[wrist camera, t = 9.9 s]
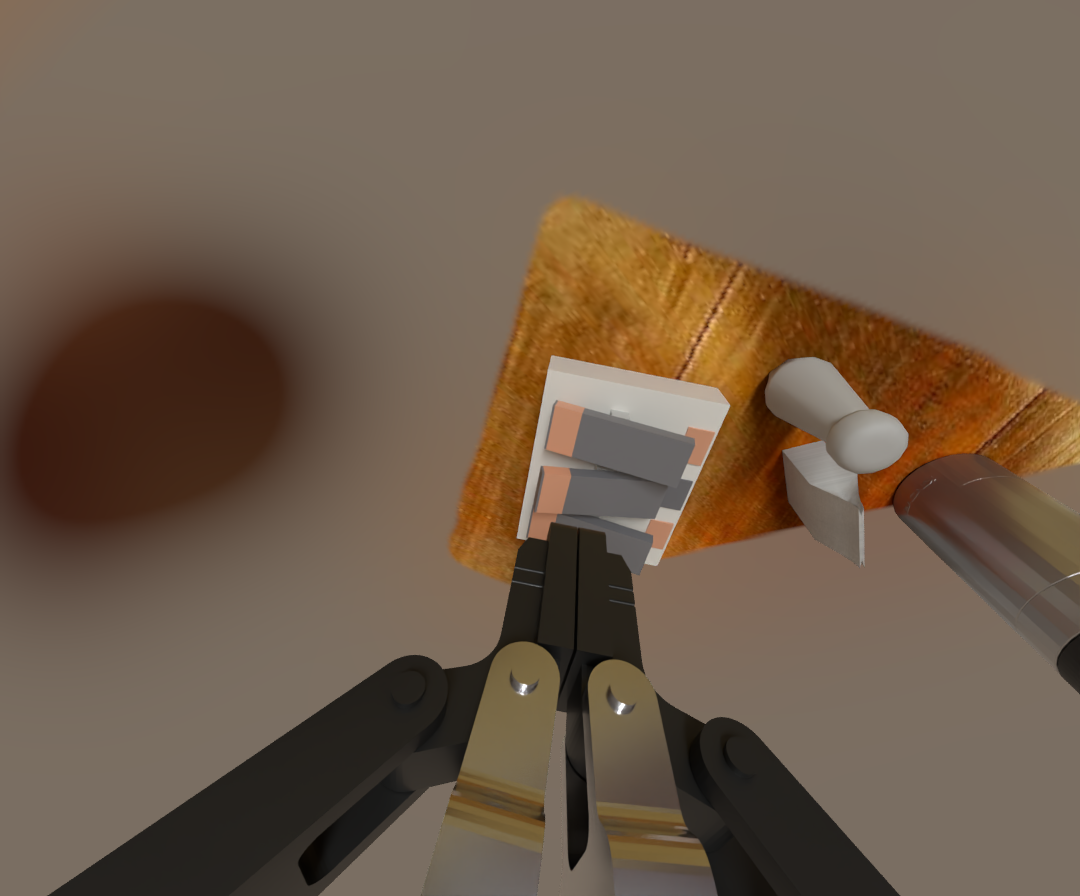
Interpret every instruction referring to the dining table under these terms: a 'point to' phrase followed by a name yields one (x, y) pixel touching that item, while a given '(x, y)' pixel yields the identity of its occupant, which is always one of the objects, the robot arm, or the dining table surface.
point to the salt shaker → (834, 415)
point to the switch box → (640, 402)
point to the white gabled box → (826, 499)
